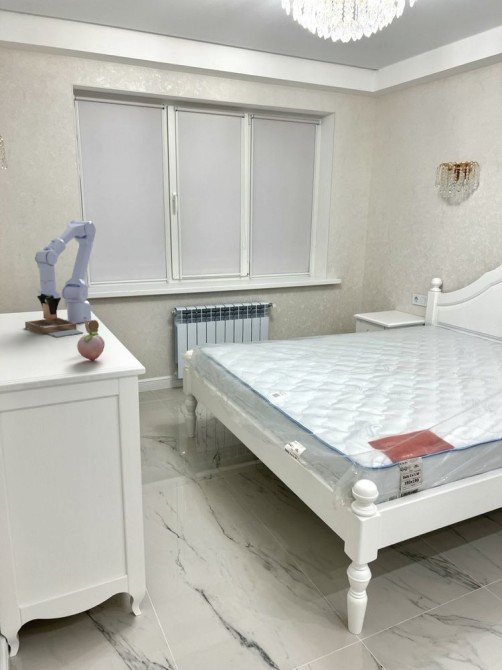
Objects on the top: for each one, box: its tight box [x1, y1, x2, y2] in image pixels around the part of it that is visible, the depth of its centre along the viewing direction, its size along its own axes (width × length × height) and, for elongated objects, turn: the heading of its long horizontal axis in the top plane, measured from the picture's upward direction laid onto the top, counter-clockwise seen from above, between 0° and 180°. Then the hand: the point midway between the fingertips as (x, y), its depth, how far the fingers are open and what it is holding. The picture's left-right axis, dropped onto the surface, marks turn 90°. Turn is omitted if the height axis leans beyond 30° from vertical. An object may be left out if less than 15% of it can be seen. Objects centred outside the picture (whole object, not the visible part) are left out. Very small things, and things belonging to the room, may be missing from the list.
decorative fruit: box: [76, 331, 106, 362], centre depth 162 cm, size 9×8×10 cm
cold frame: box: [24, 316, 78, 335], centre depth 205 cm, size 14×16×2 cm
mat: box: [47, 329, 84, 339], centre depth 197 cm, size 11×7×1 cm, turn 137°
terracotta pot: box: [42, 297, 58, 319], centre depth 204 cm, size 5×5×9 cm
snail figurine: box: [83, 317, 100, 334], centre depth 176 cm, size 5×6×12 cm
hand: (50, 313), depth 204 cm, fingers closed on terracotta pot, 5 cm apart
